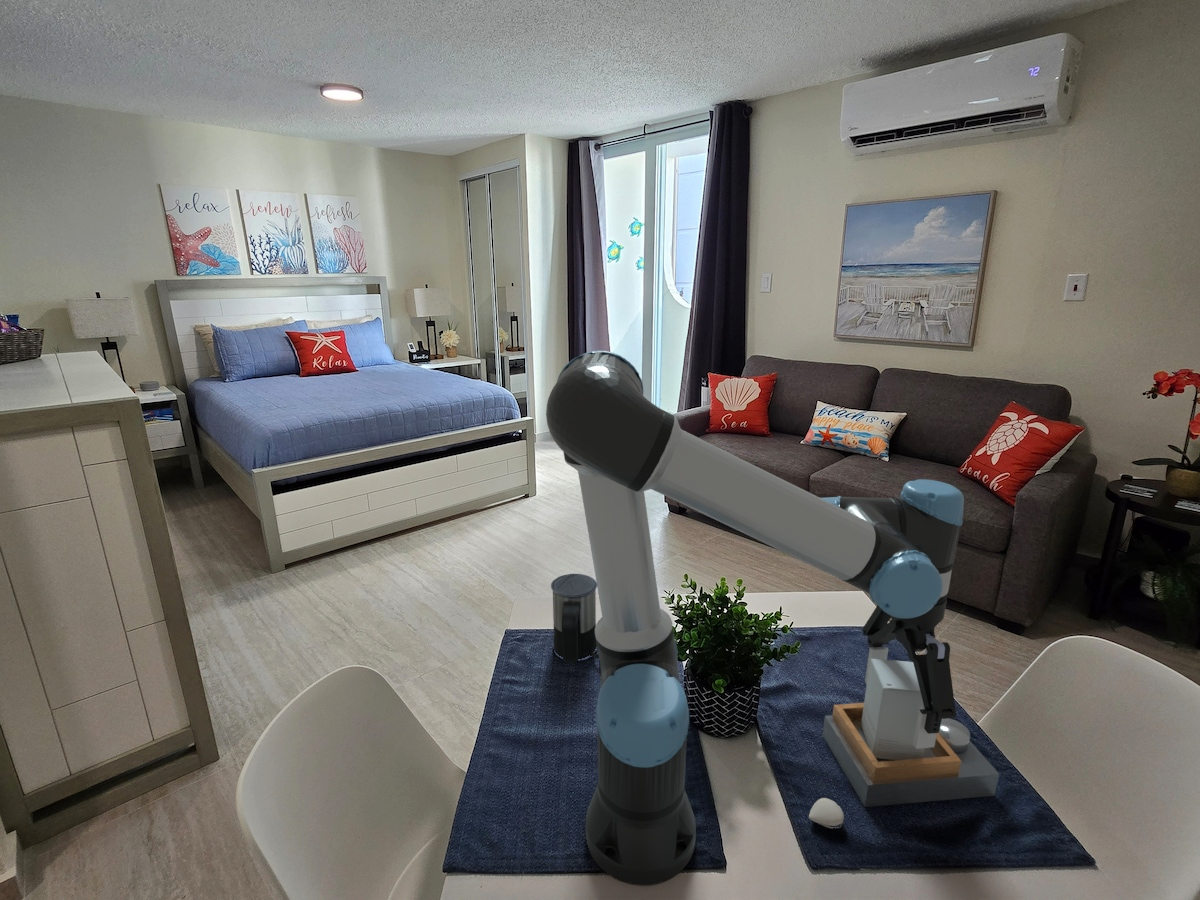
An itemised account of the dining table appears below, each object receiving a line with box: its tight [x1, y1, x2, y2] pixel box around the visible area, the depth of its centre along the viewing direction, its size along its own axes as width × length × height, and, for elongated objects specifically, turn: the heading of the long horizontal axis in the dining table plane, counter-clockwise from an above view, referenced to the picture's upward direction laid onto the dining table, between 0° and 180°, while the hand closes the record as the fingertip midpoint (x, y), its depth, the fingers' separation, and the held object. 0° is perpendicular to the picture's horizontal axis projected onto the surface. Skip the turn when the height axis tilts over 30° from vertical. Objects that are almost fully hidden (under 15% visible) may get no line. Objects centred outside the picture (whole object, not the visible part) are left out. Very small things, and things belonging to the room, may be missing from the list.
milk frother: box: [550, 573, 599, 664], centre depth 122 cm, size 14×16×15 cm
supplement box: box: [861, 659, 925, 760], centre depth 94 cm, size 7×7×13 cm
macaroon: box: [808, 797, 845, 830], centre depth 87 cm, size 4×5×2 cm
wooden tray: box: [821, 702, 1000, 808], centre depth 96 cm, size 20×14×6 cm
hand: (896, 712), depth 93 cm, fingers open, 13 cm apart
